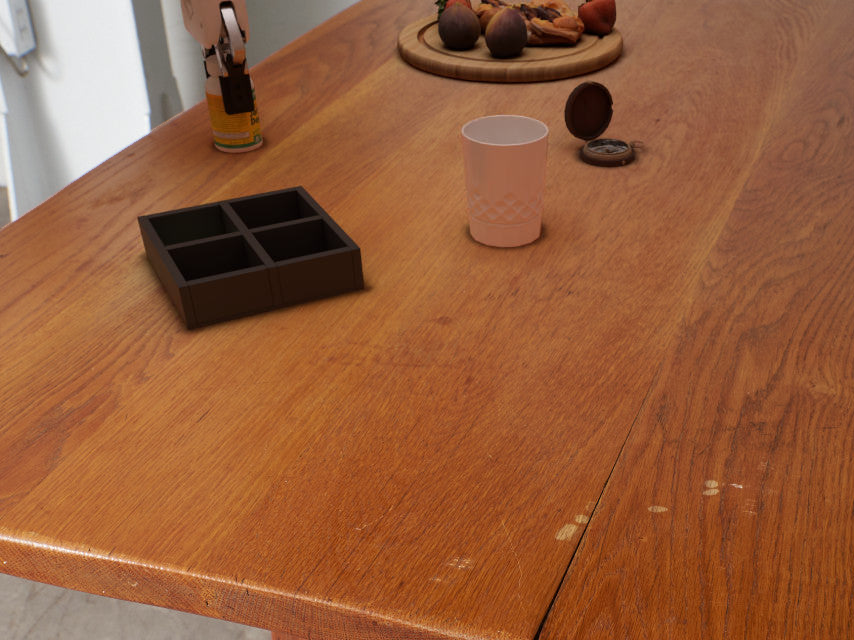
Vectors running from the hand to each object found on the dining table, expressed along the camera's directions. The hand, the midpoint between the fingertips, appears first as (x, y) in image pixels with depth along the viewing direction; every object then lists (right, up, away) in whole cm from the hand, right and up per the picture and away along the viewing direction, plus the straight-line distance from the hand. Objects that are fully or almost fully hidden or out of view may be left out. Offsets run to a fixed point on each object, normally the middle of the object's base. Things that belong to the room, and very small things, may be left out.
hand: (232, 102), depth 112 cm
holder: (+8, -24, -22) cm, 33 cm away
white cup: (+31, -19, -15) cm, 39 cm away
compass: (+42, -6, +1) cm, 42 cm away
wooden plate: (+31, +20, +32) cm, 49 cm away
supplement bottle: (0, -4, +3) cm, 5 cm away
